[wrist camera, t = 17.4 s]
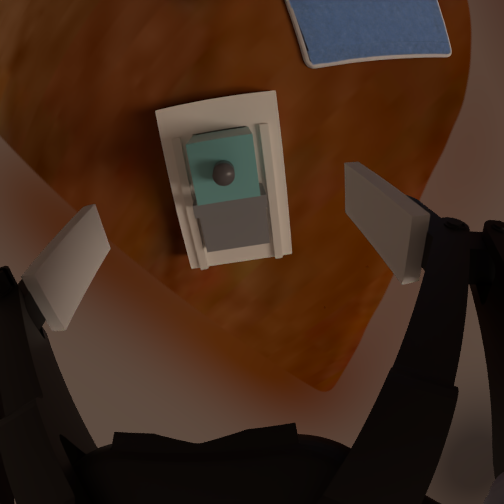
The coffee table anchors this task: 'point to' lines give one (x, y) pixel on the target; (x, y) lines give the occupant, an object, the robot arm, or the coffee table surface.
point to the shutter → (234, 222)
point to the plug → (223, 166)
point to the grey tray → (267, 160)
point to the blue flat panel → (367, 30)
